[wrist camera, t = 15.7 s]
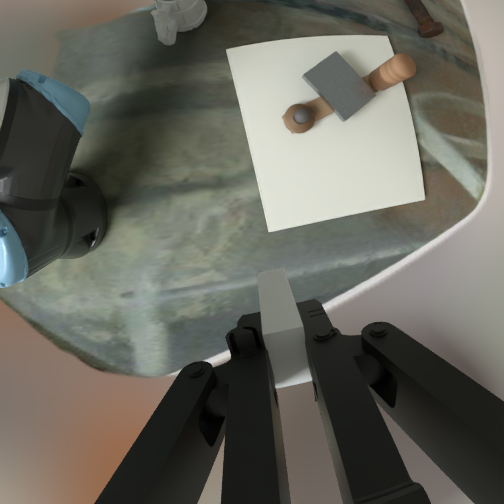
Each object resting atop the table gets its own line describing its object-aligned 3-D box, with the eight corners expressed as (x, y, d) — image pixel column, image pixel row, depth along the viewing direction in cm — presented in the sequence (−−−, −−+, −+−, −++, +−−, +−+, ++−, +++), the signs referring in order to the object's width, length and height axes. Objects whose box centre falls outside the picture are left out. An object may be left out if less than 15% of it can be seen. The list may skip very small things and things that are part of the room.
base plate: (268, 230, 47) (268, 232, 45) (226, 52, 39) (225, 49, 37) (420, 198, 45) (425, 199, 44) (384, 38, 37) (387, 36, 36)
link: (293, 138, 41) (307, 129, 31) (278, 113, 40) (287, 97, 30) (390, 90, 39) (423, 75, 29) (376, 67, 38) (406, 47, 28)
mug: (214, 2, 36) (205, -36, 24) (192, 56, 39) (176, 24, 27) (172, -2, 35) (155, -37, 24) (150, 51, 38) (124, 23, 27)
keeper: (297, 84, 40) (302, 74, 36) (327, 61, 39) (336, 50, 34) (335, 125, 42) (345, 121, 37) (364, 101, 41) (376, 95, 36)
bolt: (390, -17, 35) (425, 39, 38) (378, -22, 32) (416, 36, 36) (409, -27, 29) (448, 31, 33) (398, -34, 27) (439, 26, 31)
